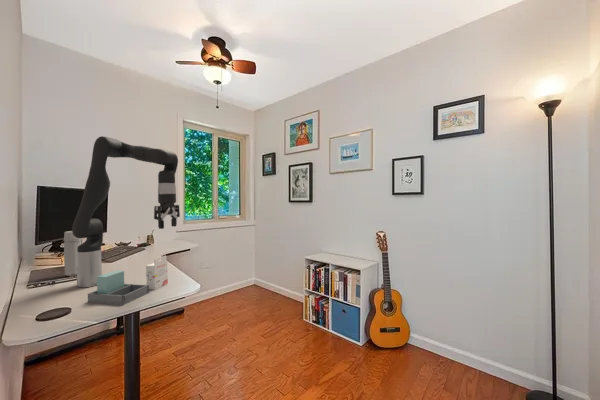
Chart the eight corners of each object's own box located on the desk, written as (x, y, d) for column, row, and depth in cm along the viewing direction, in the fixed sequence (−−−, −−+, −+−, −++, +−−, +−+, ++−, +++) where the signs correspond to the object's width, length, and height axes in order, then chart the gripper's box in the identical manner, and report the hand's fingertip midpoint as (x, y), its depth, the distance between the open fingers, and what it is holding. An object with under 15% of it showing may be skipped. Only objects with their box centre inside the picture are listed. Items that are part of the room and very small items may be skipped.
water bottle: (67, 278, 140) (65, 232, 140) (62, 276, 144) (61, 231, 144) (87, 274, 148) (86, 230, 147) (82, 272, 152) (81, 230, 152)
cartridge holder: (87, 303, 106) (87, 293, 106) (116, 291, 119) (116, 283, 119) (123, 306, 103) (123, 296, 103) (148, 293, 115) (148, 285, 115)
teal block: (97, 300, 108) (96, 276, 108) (115, 292, 116) (115, 270, 116) (106, 300, 107) (106, 277, 107) (124, 293, 115) (123, 271, 115)
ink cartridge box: (159, 283, 129) (158, 254, 129) (168, 284, 128) (167, 255, 128) (146, 290, 121) (145, 258, 120) (155, 290, 120) (154, 259, 119)
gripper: (170, 193, 128) (171, 225, 128) (148, 193, 114) (149, 229, 114) (183, 193, 127) (184, 225, 127) (163, 192, 113) (164, 229, 113)
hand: (167, 227), depth 120 cm, fingers open, 8 cm apart
